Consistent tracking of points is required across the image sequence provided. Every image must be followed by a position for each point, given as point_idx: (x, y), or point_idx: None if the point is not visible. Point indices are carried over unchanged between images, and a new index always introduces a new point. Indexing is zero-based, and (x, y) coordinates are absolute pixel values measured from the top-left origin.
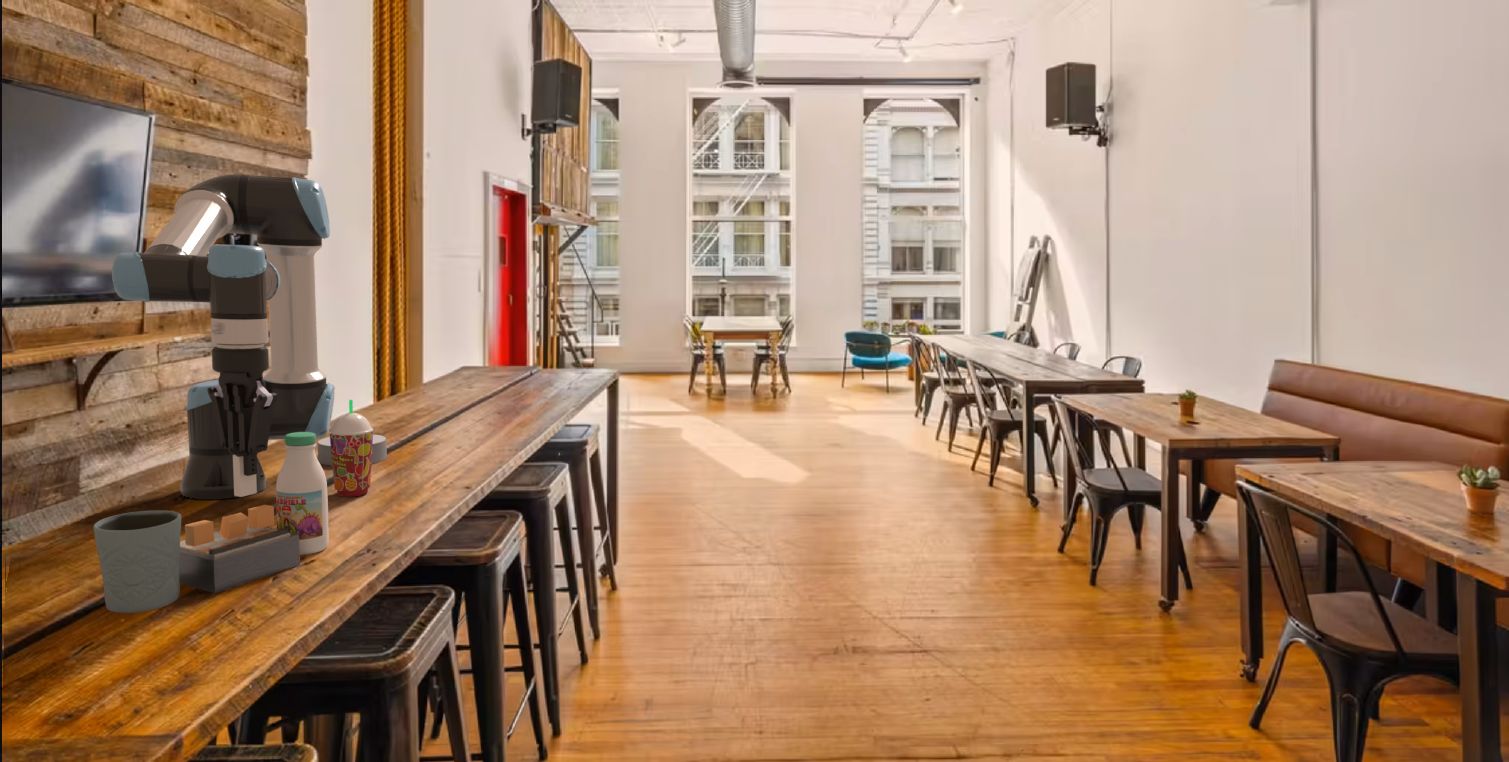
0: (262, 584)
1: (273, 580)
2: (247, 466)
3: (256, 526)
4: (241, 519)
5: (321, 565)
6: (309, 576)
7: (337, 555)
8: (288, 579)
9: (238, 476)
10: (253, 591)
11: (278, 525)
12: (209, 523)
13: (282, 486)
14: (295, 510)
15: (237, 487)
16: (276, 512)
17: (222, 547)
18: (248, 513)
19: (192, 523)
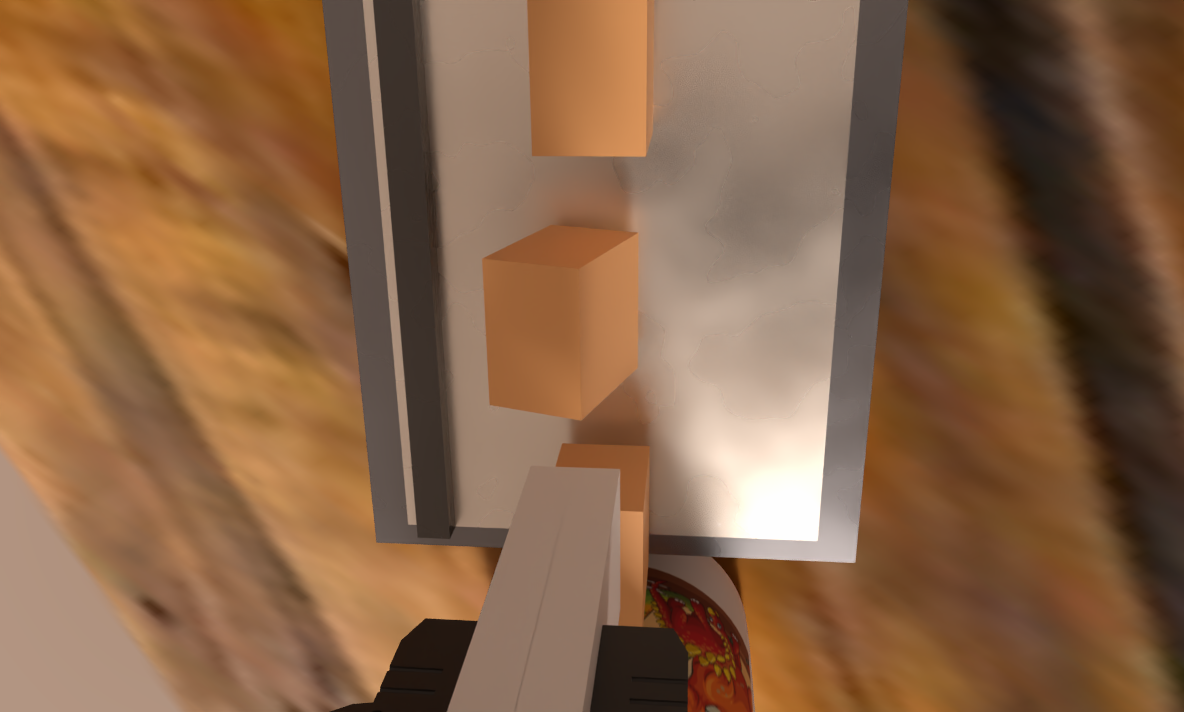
0: (318, 180)
1: (328, 247)
2: (409, 694)
3: (565, 451)
4: (495, 350)
5: (335, 498)
6: (240, 369)
7: (401, 623)
8: (281, 292)
9: (519, 575)
10: (259, 89)
11: (653, 613)
12: (532, 121)
13: None
14: None
15: (562, 511)
16: (690, 679)
17: (391, 80)
18: (638, 493)
19: (639, 39)
